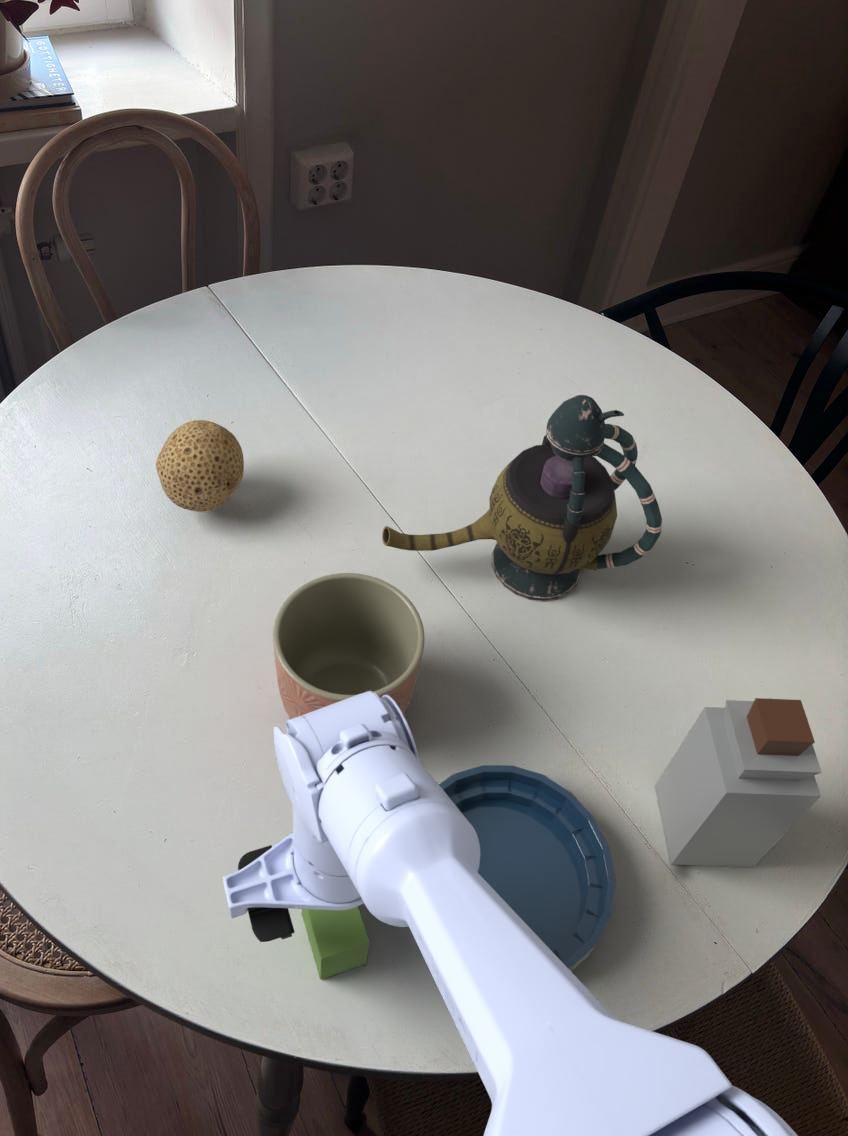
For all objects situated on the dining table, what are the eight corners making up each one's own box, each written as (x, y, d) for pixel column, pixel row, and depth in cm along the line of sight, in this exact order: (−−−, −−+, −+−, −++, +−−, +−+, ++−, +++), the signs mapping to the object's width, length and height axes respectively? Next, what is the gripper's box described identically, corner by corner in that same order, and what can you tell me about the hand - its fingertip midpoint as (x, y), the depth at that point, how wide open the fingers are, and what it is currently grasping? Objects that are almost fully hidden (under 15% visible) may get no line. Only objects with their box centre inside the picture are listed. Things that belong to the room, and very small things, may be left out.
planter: (393, 781, 79) (403, 718, 71) (255, 741, 81) (250, 675, 73) (427, 661, 87) (439, 592, 79) (301, 627, 89) (301, 557, 81)
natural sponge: (251, 528, 97) (247, 462, 90) (164, 539, 96) (152, 472, 88) (241, 466, 103) (236, 398, 96) (159, 475, 102) (147, 407, 94)
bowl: (641, 950, 71) (654, 935, 69) (445, 1024, 67) (451, 1012, 65) (548, 761, 81) (556, 742, 79) (372, 815, 77) (374, 797, 75)
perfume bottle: (752, 867, 76) (848, 767, 63) (670, 864, 76) (749, 763, 62) (732, 788, 81) (817, 679, 67) (654, 785, 80) (724, 675, 67)
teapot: (635, 611, 93) (711, 445, 75) (384, 617, 90) (403, 448, 73) (606, 518, 101) (669, 349, 83) (375, 522, 99) (390, 350, 81)
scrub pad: (366, 963, 70) (369, 942, 66) (320, 980, 69) (321, 959, 65) (345, 897, 73) (348, 874, 69) (301, 912, 72) (301, 889, 68)
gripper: (430, 736, 60) (411, 822, 70) (206, 801, 56) (221, 882, 66) (473, 840, 55) (447, 916, 66) (233, 918, 52) (244, 986, 62)
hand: (335, 905), depth 66 cm, fingers open, 7 cm apart
